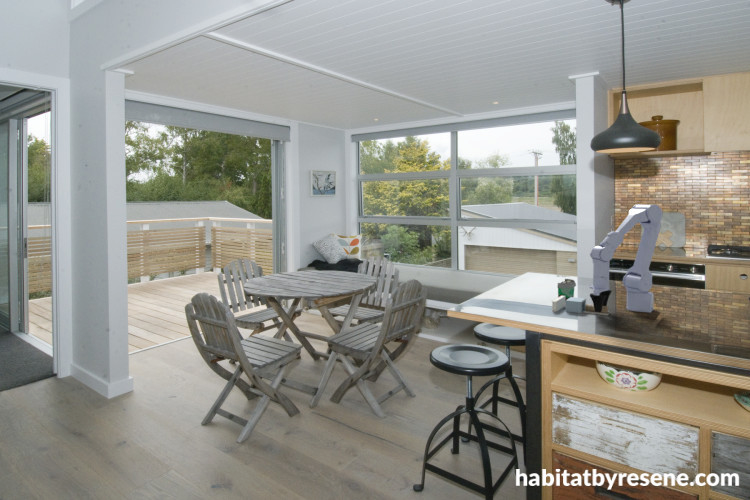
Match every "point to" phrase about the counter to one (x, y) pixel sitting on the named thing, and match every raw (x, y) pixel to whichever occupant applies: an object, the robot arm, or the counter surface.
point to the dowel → (591, 309)
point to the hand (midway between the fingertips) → (600, 309)
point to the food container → (566, 288)
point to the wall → (558, 303)
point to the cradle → (596, 313)
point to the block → (575, 304)
